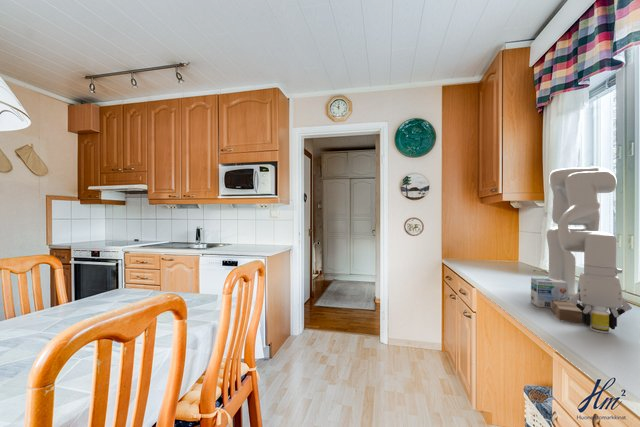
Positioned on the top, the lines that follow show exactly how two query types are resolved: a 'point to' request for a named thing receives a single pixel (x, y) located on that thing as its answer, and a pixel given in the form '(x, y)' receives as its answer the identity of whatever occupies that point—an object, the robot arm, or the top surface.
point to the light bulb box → (548, 291)
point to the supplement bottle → (599, 319)
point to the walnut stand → (567, 311)
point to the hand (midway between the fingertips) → (598, 325)
